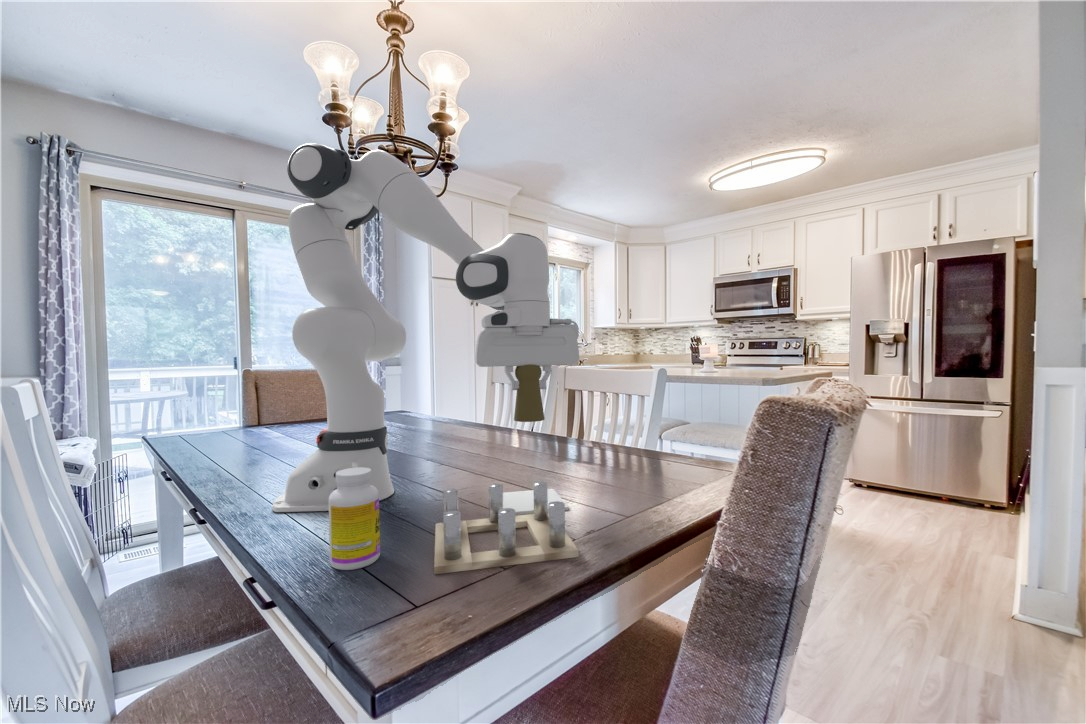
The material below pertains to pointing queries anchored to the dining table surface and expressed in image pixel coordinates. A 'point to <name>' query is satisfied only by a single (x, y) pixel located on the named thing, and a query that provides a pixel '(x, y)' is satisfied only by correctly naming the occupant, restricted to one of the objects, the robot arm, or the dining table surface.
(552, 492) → the mat
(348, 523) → the supplement bottle
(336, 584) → the dining table surface
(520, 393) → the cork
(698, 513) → the dining table surface
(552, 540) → the steel spacers
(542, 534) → the board
